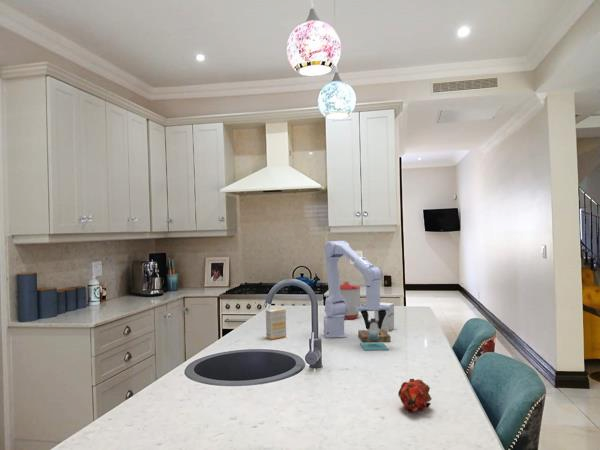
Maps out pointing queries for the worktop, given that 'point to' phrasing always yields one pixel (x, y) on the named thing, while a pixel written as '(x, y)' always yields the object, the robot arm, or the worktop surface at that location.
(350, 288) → the citrus juicer
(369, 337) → the metal plug
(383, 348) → the teal mat
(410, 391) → the dragon fruit
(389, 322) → the white boxy piece
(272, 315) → the supplement box
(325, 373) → the worktop surface
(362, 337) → the bore block
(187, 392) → the worktop surface
